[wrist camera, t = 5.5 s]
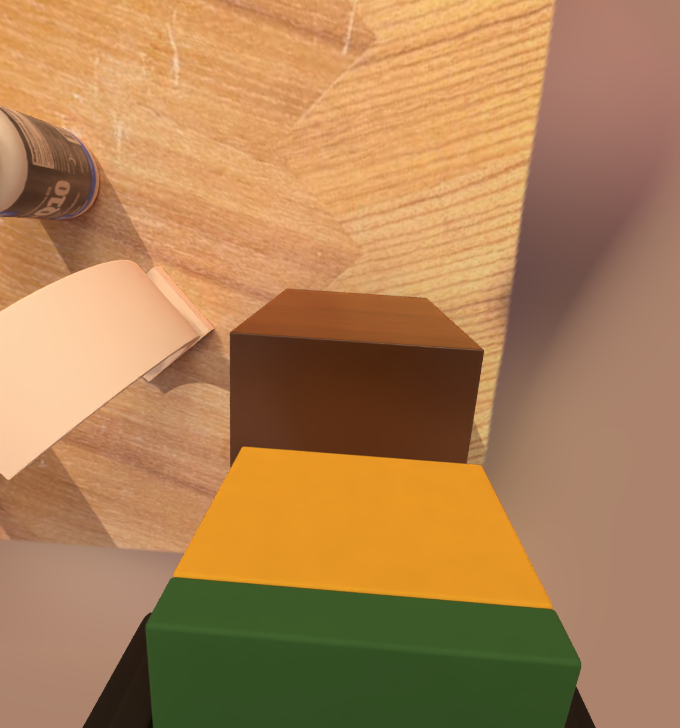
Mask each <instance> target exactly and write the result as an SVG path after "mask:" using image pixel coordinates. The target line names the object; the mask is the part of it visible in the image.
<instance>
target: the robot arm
mask: <svg viewBox="0 0 680 728" xmlns="http://www.w3.org/2000/svg"><path fill="white" fill-rule="evenodd" d="M151 614H152V613H149V614H148V615H147V616H145V618H144V619H143V621H142V622H141V624H140V626H139V627H138V629H137V631H136V633H135V635H134V636H133V638H132V640H131V642H130V644H129V646H128V647H127V649H126V651H125V653H124V654H123V656H122V658H121V660H120V662H119V664H118V665H117V667H116V669H115V670H114V672H113V674H112V676H111V678H110V680H109V681H108V683H107V685H106V687H105V689H104V690H103V692H102V694H101V696H100V697H99V699H98V701H97V703H96V705H95V706H94V708H93V710H92V712H91V714H90V715H89V717H88V719H87V721H86V723H85V724H84V726H83V728H153V719H152V707H151V694H150V681H149V668H148V655H147V642H146V630H145V627H146V623H147V621H148V619H149V618H150V616H151ZM564 728H596V727H595V725H594V723H593V721H592V719H591V717H590V715H589V713H588V710H587V708H586V706H585V704H584V702H583V700H582V698H581V696H580V694H579V691H578V689H577V687H576V688H575V691H574V695H573V698H572V702H571V705H570V709H569V713H568V716H567V720H566V723H565V727H564Z"/></svg>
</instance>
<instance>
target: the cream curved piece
mask: <svg viewBox="0 0 680 728" xmlns="http://www.w3.org/2000/svg"><path fill="white" fill-rule="evenodd" d="M213 329H214V328H213V327H212V326H211V324H210V323H209V322H208V321H207V320H206V319H205V317H204V316H203V315H202V314H201V313H200V312H199V311H198V309H197V308H196V307H195V306H194V305H193V304H192V302H191V301H190V300H189V299H188V298H187V297H186V296H185V294H184V293H183V292H182V291H181V290H180V289H179V287H178V286H177V285H176V284H175V283H174V282H173V281H172V279H171V278H170V277H169V276H168V275H167V274H166V273H165V271H164V270H163V269H162V268H161V267H160V266H156V267H153V268H152V269H151V270H150V271H148V272H147V273H146V274H145V273H144V272H143V270H142V269H141V268H140V267H139V266H138V265H137V264H136V263H135V262H134V261H131V260H115V261H109V262H105V263H101V264H98V265H95V266H92V267H89V268H86V269H84V270H81V271H78V272H76V273H74V274H71V275H69V276H66V277H64V278H62V279H60V280H58V281H56V282H54V283H51V284H49V285H47V286H45V287H43V288H41V289H39V290H38V291H36V292H34V293H32V294H30V295H28V296H26V297H25V298H23V299H21V300H19V301H17V302H16V303H14V304H12V305H10V306H9V307H7V308H5V309H4V310H2V311H0V473H1V474H2V475H3V476H4V477H5V478H6V479H7V480H10V479H11V478H13V477H14V476H15V475H17V474H18V473H20V472H21V471H22V470H24V469H25V468H26V467H28V466H29V465H30V464H31V463H32V462H34V461H35V460H36V459H37V458H39V457H40V456H41V455H42V454H43V453H45V452H46V451H47V450H48V449H50V448H51V447H52V446H53V445H54V444H56V443H57V442H58V441H59V440H61V439H62V438H63V437H64V436H66V435H67V434H68V433H69V432H71V431H72V430H73V429H75V428H76V427H77V426H78V425H80V424H81V423H82V422H83V421H85V420H86V419H87V418H88V417H90V416H91V415H92V414H94V413H95V412H96V411H97V410H99V409H100V408H101V407H103V406H104V405H105V404H107V403H108V402H109V401H110V400H112V399H113V398H114V397H116V396H117V395H118V394H120V393H121V392H122V391H124V390H125V389H126V388H128V387H129V386H130V385H132V384H133V383H134V382H136V381H137V380H138V379H140V378H141V377H142V376H143V377H144V378H145V379H146V380H147V381H148V382H149V381H151V380H152V379H153V378H155V377H156V376H157V375H158V374H160V373H161V372H162V371H163V370H164V369H166V368H167V367H168V366H169V365H170V364H172V363H173V362H174V361H175V360H176V359H178V358H179V357H180V356H181V355H182V354H184V353H185V352H186V351H187V350H189V349H190V348H191V347H192V346H193V345H195V344H196V343H197V342H198V341H199V340H201V339H202V338H203V337H204V336H205V335H207V334H208V333H209V332H210V331H211V330H213Z"/></svg>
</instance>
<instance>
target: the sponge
mask: <svg viewBox="0 0 680 728" xmlns="http://www.w3.org/2000/svg"><path fill="white" fill-rule="evenodd" d="M145 630H146V642H147V655H148V668H149V681H150V694H151V707H152V719H153V728H564V727H565V723H566V720H567V716H568V713H569V709H570V705H571V702H572V698H573V695H574V691H575V688H576V684H577V681H578V677H579V674H580V670H581V661H580V658H579V657H578V655H577V653H576V651H575V649H574V647H573V645H572V643H571V641H570V639H569V637H568V635H567V633H566V631H565V629H564V627H563V625H562V623H561V621H560V619H559V617H558V615H557V613H556V612H555V611H554V610H553V607H552V603H551V601H550V599H549V597H548V595H547V593H546V592H545V589H544V587H543V586H542V584H541V582H540V580H539V578H538V576H537V574H536V572H535V570H534V568H533V566H532V564H531V562H530V560H529V558H528V556H527V554H526V552H525V550H524V548H523V546H522V544H521V542H520V540H519V538H518V536H517V534H516V533H515V530H514V528H513V527H512V525H511V522H510V521H509V519H508V517H507V515H506V513H505V511H504V509H503V507H502V505H501V503H500V501H499V499H498V497H497V495H496V493H495V491H494V489H493V487H492V485H491V483H490V481H489V479H488V477H487V475H486V473H485V471H484V469H483V467H482V466H481V465H475V464H462V463H449V462H436V461H423V460H410V459H397V458H384V457H371V456H359V455H346V454H333V453H320V452H307V451H294V450H281V449H268V448H255V447H242V448H241V450H240V452H239V454H238V456H237V457H236V459H235V461H234V463H233V465H232V467H231V468H230V470H229V472H228V474H227V476H226V478H225V480H224V481H223V483H222V485H221V487H220V489H219V491H218V492H217V494H216V496H215V498H214V500H213V502H212V503H211V505H210V507H209V509H208V511H207V513H206V514H205V516H204V518H203V520H202V522H201V524H200V526H199V527H198V529H197V531H196V533H195V535H194V537H193V538H192V540H191V542H190V544H189V546H188V548H187V549H186V551H185V553H184V555H183V557H182V559H181V560H180V562H179V564H178V566H177V568H176V570H175V572H174V574H173V578H172V579H170V581H169V583H168V584H167V586H166V588H165V590H164V592H163V594H162V596H161V597H160V599H159V601H158V603H157V605H156V607H155V608H154V610H153V612H152V614H151V616H150V618H149V619H148V621H147V623H146V627H145Z"/></svg>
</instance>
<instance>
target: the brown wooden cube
mask: <svg viewBox="0 0 680 728" xmlns="http://www.w3.org/2000/svg"><path fill="white" fill-rule="evenodd" d="M483 354H484V350H483V349H482V348H481V347H480V346H479V345H478V344H477V343H476V342H474V341H473V340H472V339H471V338H470V337H469V336H468V335H467V334H466V333H465V332H463V331H462V330H461V329H460V328H459V327H458V326H457V325H456V324H455V323H454V322H452V321H451V320H450V319H449V318H448V317H447V316H446V315H445V314H444V313H443V312H441V311H440V310H439V309H438V308H437V307H436V306H435V305H434V304H433V303H432V302H430V301H429V300H428V299H427V298H417V297H402V296H387V295H372V294H357V293H343V292H328V291H313V290H298V289H286V290H285V291H283V292H282V293H281V294H279V295H278V296H277V297H275V298H274V299H273V300H272V301H270V302H269V303H268V304H266V305H265V306H264V307H263V308H261V309H260V310H259V311H257V312H256V313H255V314H253V315H252V316H251V317H250V318H248V319H247V320H246V321H244V322H243V323H242V324H240V325H239V326H238V327H237V328H235V329H234V330H233V331H231V332H230V468H231V467H232V465H233V463H234V461H235V459H236V457H237V456H238V454H239V452H240V450H241V448H242V447H255V448H268V449H281V450H294V451H307V452H320V453H333V454H346V455H359V456H371V457H384V458H397V459H410V460H423V461H436V462H449V463H462V464H467V457H468V451H469V445H470V438H471V432H472V425H473V419H474V412H475V406H476V399H477V393H478V387H479V380H480V374H481V367H482V361H483Z"/></svg>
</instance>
